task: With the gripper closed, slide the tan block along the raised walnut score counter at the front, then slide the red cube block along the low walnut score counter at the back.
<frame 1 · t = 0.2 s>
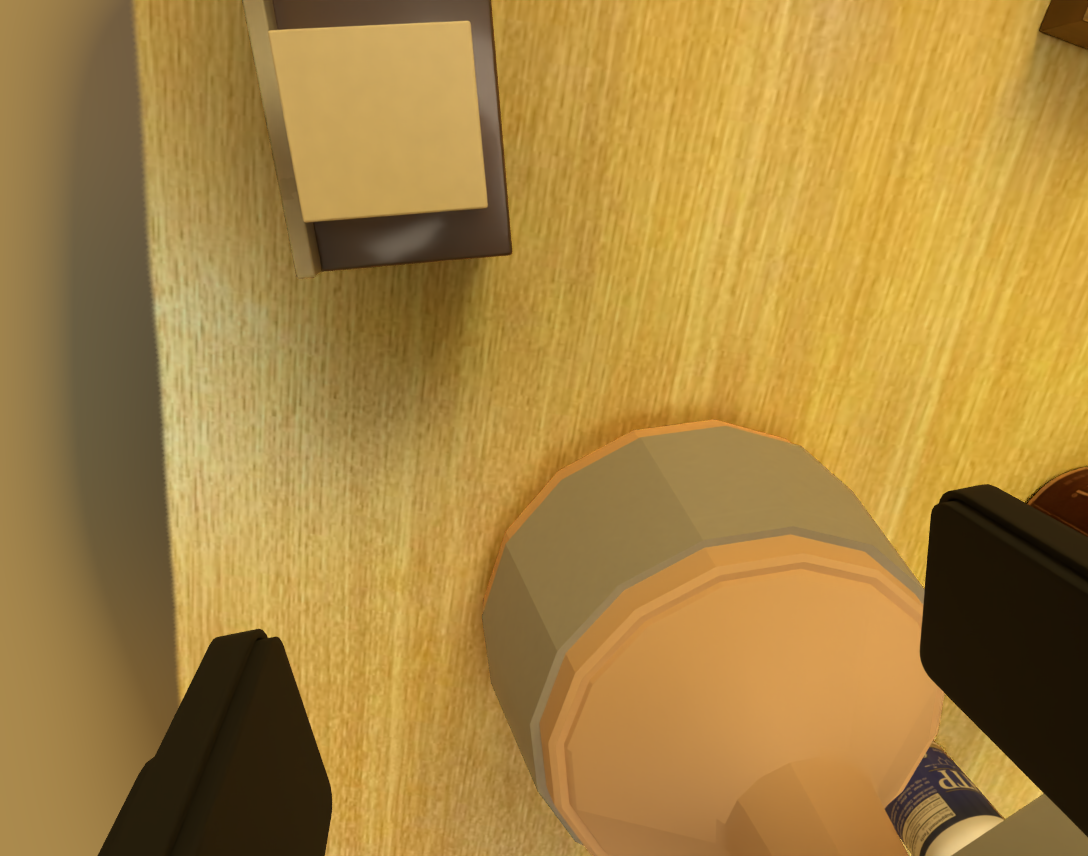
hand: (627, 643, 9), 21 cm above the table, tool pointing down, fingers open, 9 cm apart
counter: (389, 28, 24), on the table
desk lamp: (663, 578, 35), on the table
tan block: (388, 129, 17), point 10 cm above the table, slide at -4.0 cm
coffee cup: (1062, 518, 37), on the table
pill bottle: (899, 764, 42), on the table
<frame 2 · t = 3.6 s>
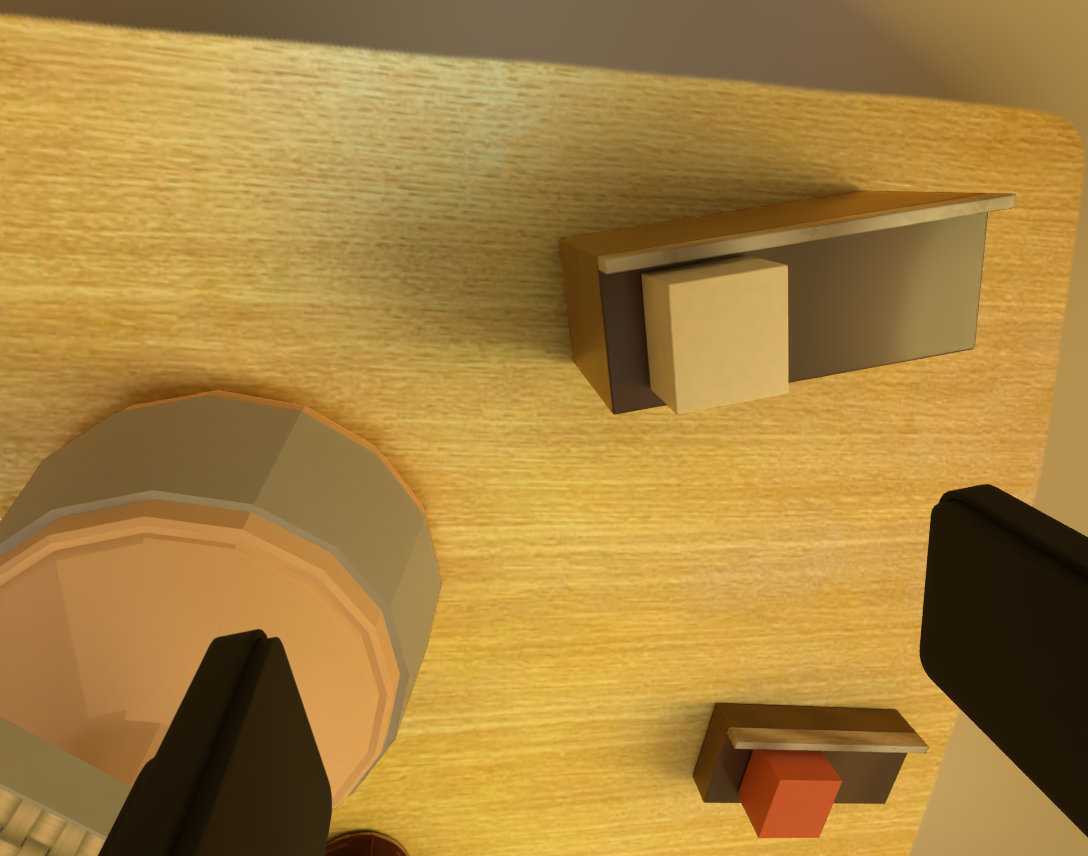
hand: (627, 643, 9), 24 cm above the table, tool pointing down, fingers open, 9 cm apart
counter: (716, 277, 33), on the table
desk lamp: (252, 554, 34), on the table
tan block: (713, 332, 23), point 10 cm above the table, slide at -4.0 cm
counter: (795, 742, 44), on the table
red cube block: (787, 788, 40), point 4 cm above the table, slide at -2.5 cm
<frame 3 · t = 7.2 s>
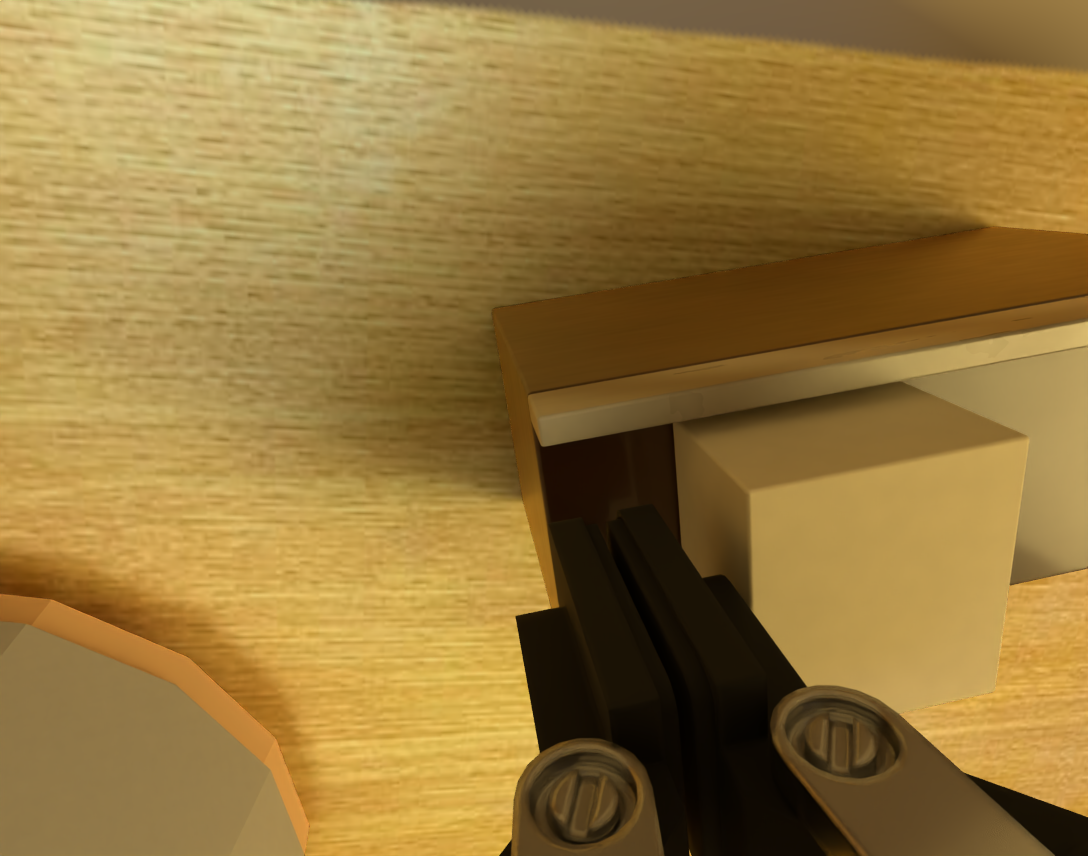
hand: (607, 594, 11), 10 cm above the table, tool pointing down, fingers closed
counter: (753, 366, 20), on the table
desk lamp: (18, 795, 22), on the table
tan block: (827, 549, 11), point 10 cm above the table, slide at -3.1 cm, touching gripper
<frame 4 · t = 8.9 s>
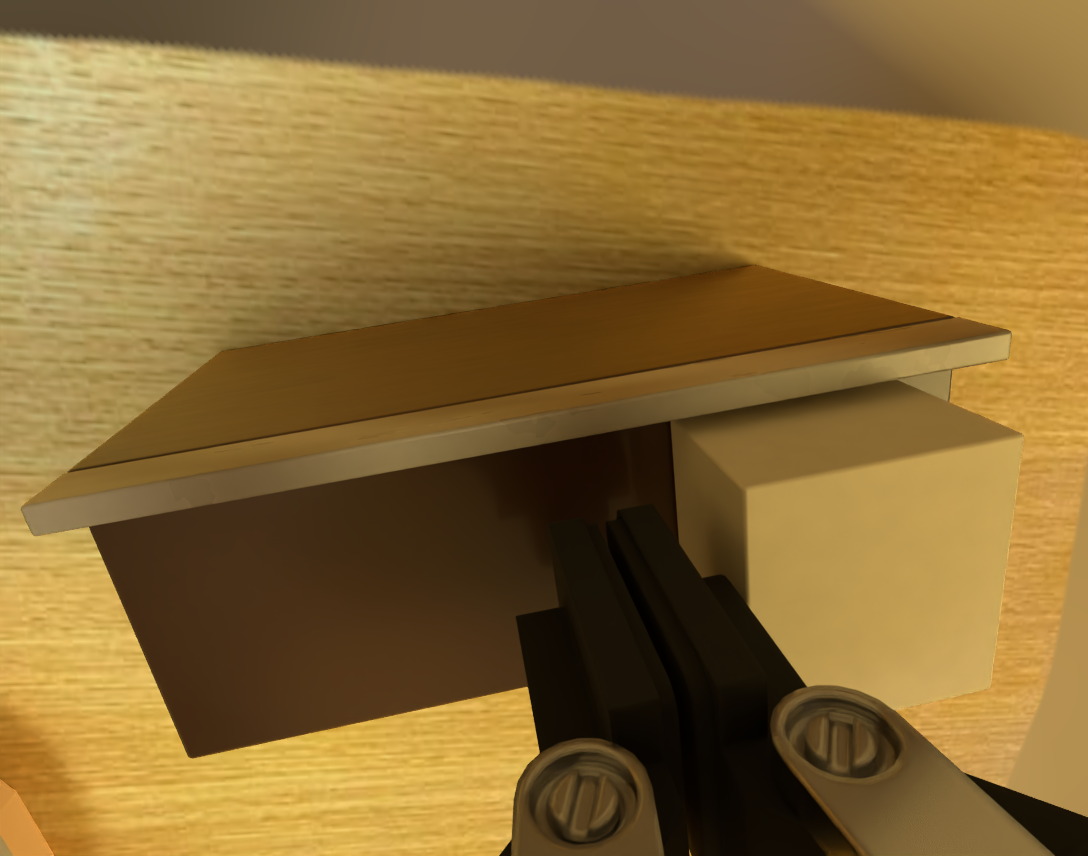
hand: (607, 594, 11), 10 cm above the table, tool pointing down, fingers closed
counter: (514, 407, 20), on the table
tan block: (824, 546, 11), point 10 cm above the table, slide at 4.1 cm, touching gripper
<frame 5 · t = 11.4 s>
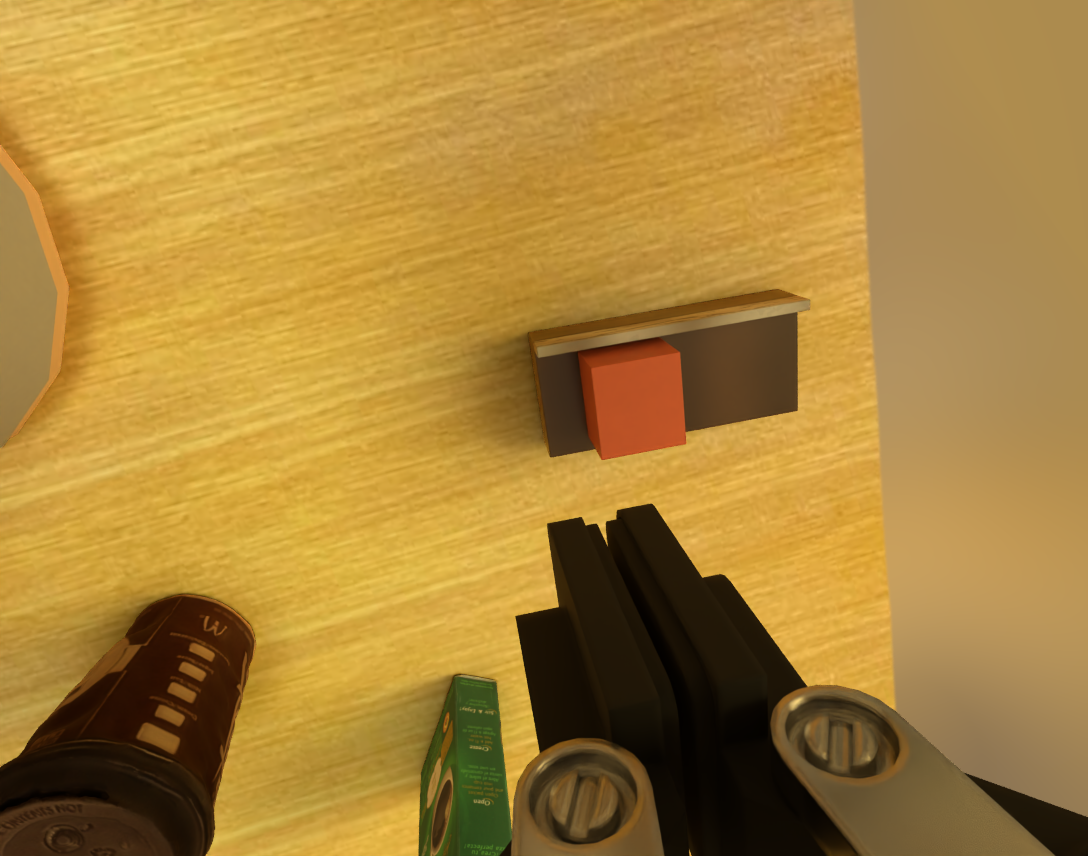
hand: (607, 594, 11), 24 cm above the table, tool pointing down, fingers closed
coffee box: (457, 725, 41), on the table
coffee cup: (192, 640, 37), on the table
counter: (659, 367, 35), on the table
red cube block: (631, 397, 31), point 4 cm above the table, slide at -2.5 cm
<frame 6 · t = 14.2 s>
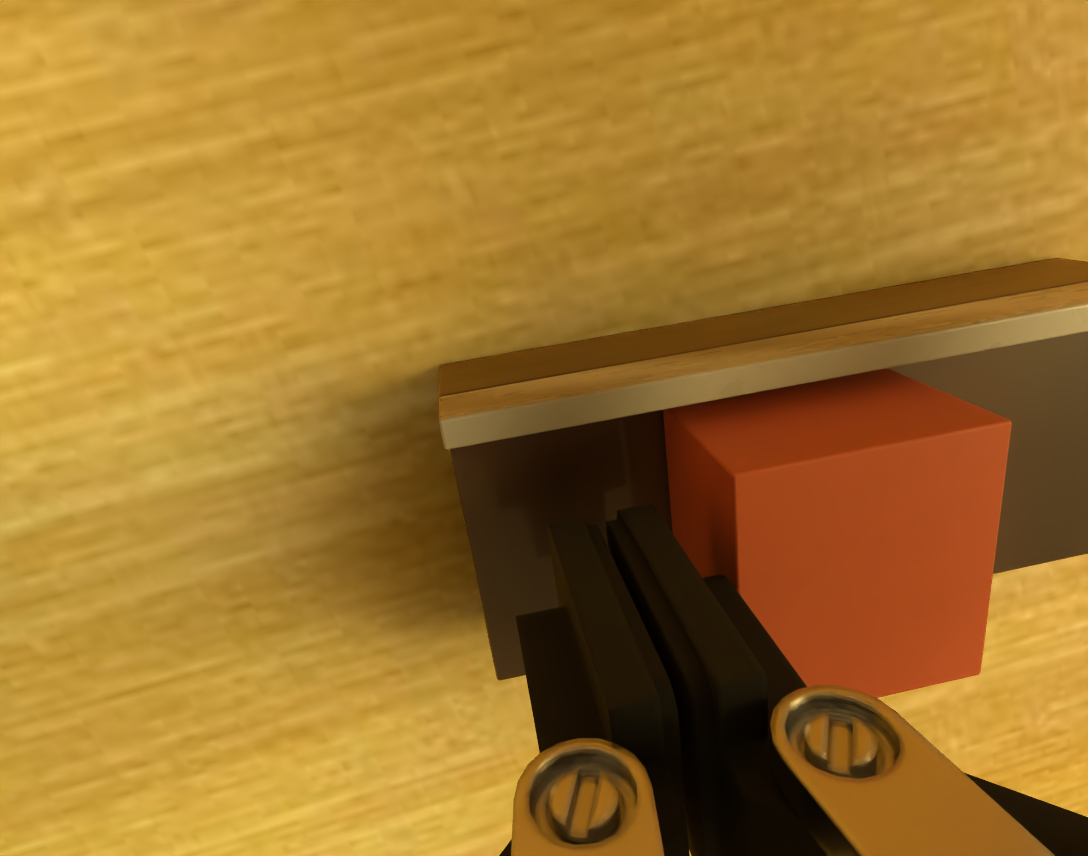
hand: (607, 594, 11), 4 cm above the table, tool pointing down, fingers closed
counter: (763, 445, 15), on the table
red cube block: (815, 534, 11), point 4 cm above the table, slide at -0.8 cm, touching gripper
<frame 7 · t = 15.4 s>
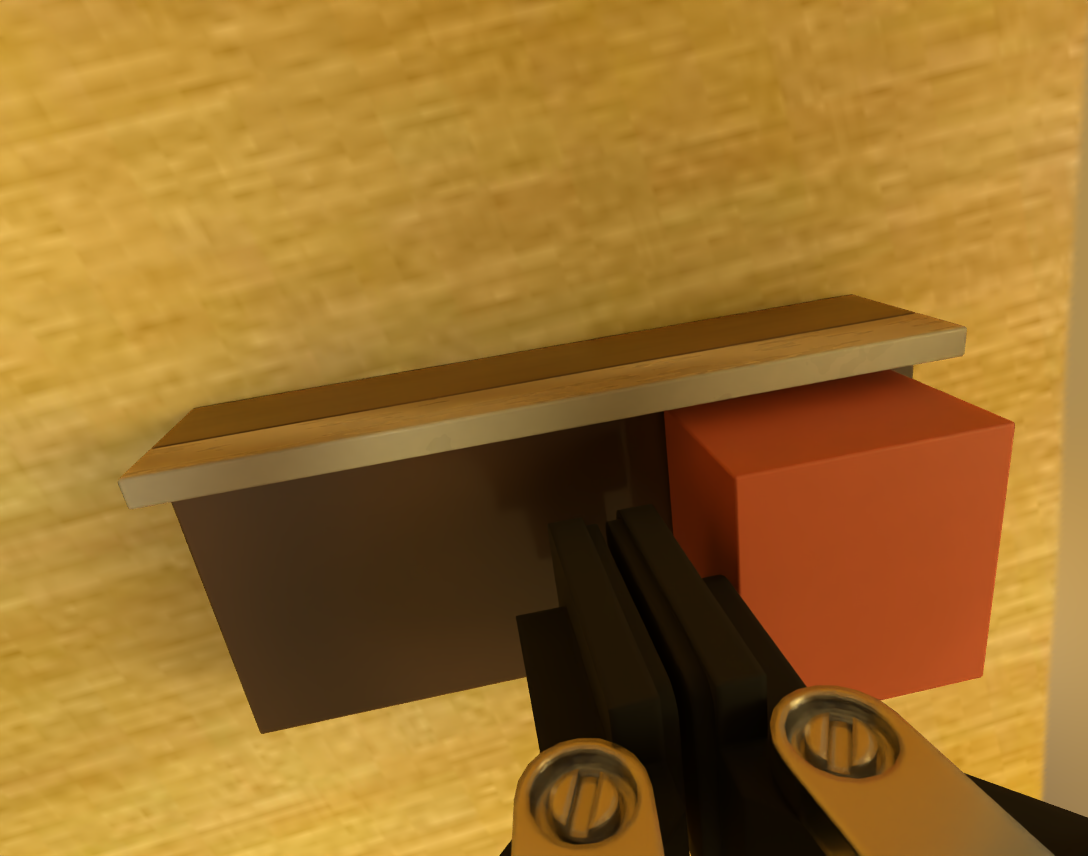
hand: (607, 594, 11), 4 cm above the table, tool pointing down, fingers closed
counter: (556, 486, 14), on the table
red cube block: (817, 536, 11), point 4 cm above the table, slide at 3.8 cm, touching gripper
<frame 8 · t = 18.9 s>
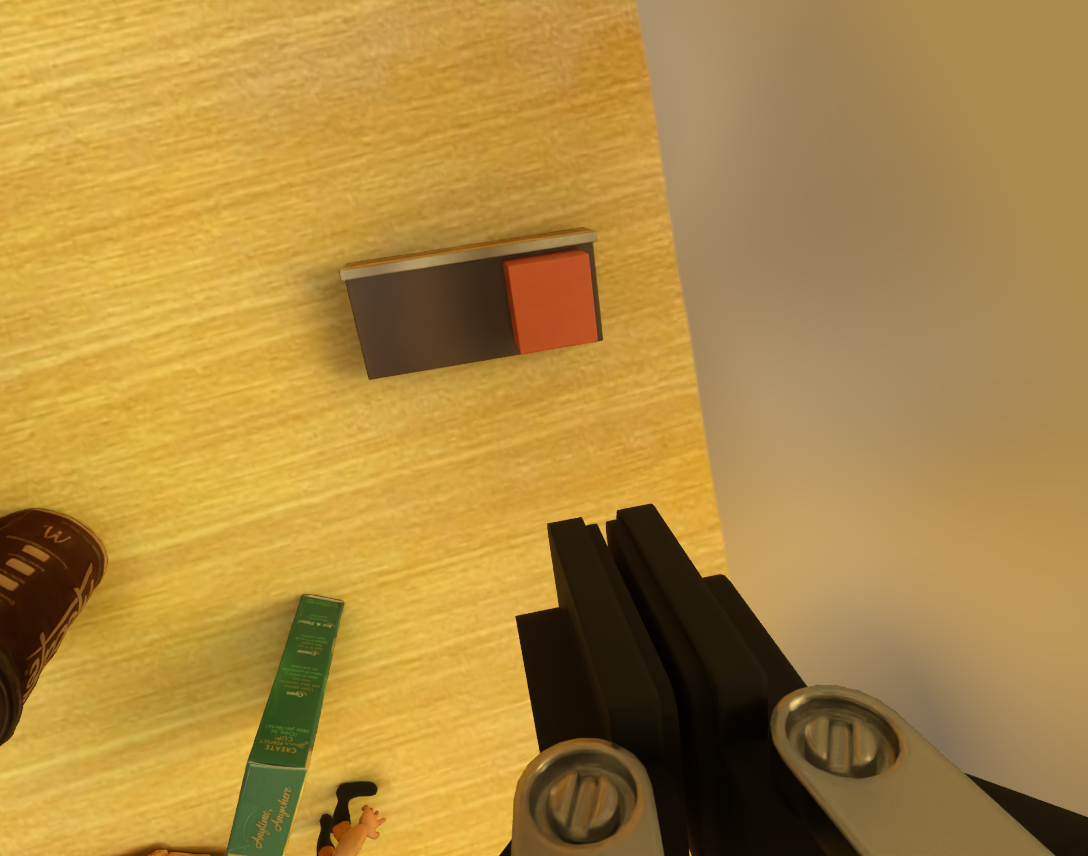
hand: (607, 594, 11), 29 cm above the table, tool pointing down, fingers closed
action figure: (347, 802, 49), on the table
coffee box: (310, 645, 44), on the table
coffee cup: (47, 554, 39), on the table
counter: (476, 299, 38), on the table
red cube block: (549, 300, 35), point 4 cm above the table, slide at 3.6 cm
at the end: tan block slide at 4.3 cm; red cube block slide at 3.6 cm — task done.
